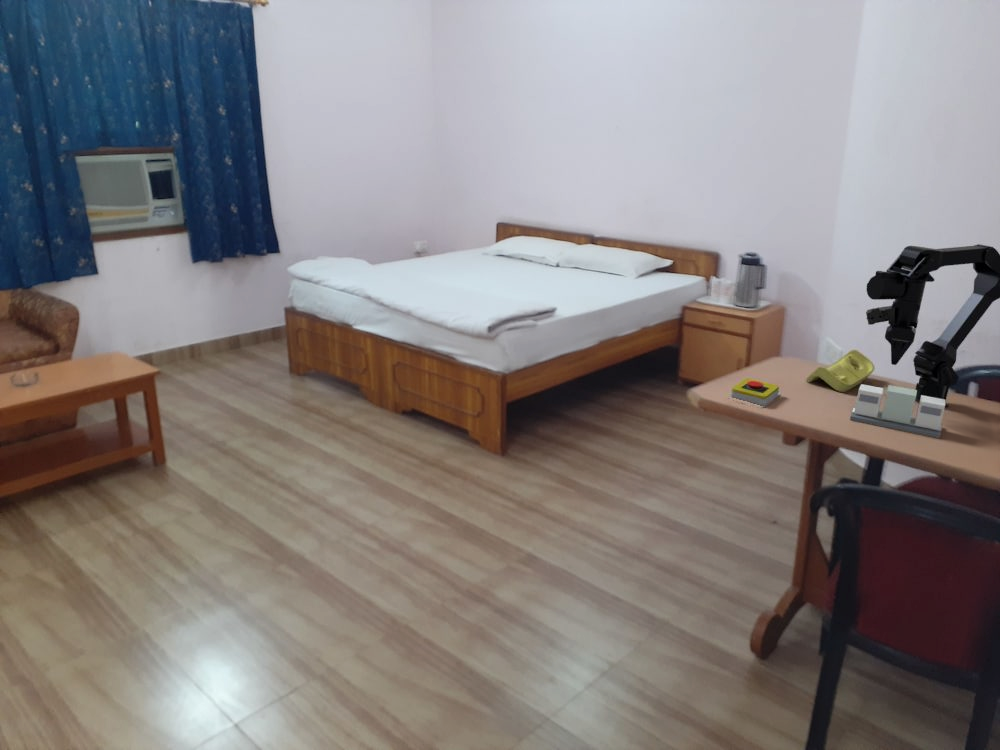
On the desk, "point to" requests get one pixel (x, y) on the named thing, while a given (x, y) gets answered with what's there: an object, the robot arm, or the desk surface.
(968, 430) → the desk surface
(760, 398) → the emergency button
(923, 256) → the robot arm
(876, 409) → the rail board
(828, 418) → the desk surface
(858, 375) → the plastic component
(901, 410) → the block
